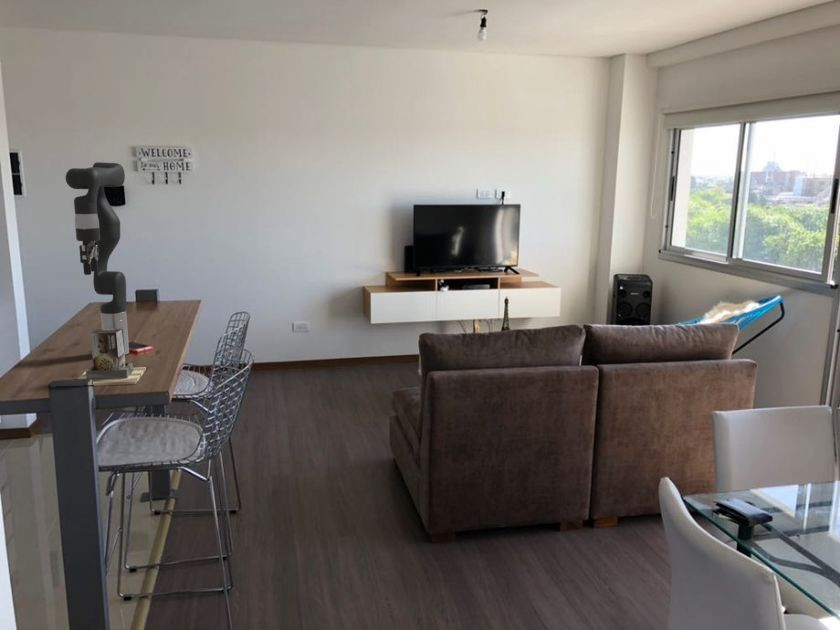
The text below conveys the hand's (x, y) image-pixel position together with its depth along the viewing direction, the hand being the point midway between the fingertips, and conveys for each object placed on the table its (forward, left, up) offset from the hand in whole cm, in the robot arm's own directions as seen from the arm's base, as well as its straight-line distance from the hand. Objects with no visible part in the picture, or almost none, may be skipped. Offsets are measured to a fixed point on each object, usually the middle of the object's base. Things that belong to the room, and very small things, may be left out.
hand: (91, 273), depth 237 cm
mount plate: (+9, +6, -36) cm, 38 cm away
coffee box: (+9, +6, -35) cm, 37 cm away
